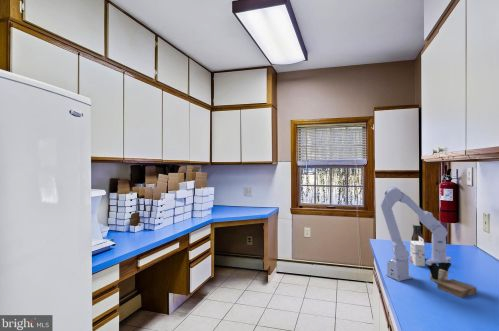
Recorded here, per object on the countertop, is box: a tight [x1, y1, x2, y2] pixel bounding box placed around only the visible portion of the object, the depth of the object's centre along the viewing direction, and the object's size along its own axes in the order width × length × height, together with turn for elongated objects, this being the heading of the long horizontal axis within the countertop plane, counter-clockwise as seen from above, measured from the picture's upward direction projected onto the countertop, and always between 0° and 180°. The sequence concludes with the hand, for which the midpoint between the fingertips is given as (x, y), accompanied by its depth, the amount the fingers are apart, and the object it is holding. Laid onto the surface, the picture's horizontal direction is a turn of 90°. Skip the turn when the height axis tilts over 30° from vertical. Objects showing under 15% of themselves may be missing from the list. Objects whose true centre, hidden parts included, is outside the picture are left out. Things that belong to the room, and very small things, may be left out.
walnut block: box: [436, 278, 477, 299], centre depth 127 cm, size 10×10×3 cm
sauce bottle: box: [410, 223, 424, 241], centre depth 170 cm, size 6×6×20 cm
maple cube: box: [429, 269, 449, 283], centre depth 137 cm, size 5×5×5 cm
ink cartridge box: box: [409, 236, 426, 267], centre depth 161 cm, size 9×5×15 cm, turn 168°
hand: (439, 278), depth 137 cm, fingers closed on maple cube, 5 cm apart
